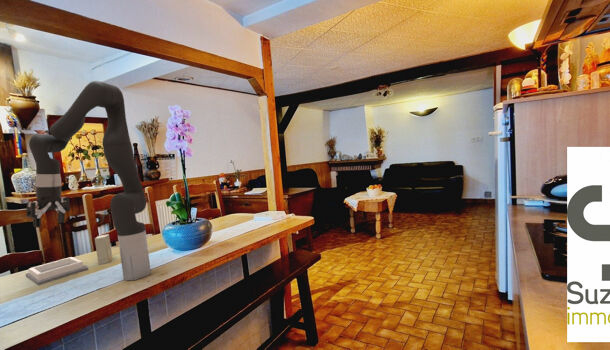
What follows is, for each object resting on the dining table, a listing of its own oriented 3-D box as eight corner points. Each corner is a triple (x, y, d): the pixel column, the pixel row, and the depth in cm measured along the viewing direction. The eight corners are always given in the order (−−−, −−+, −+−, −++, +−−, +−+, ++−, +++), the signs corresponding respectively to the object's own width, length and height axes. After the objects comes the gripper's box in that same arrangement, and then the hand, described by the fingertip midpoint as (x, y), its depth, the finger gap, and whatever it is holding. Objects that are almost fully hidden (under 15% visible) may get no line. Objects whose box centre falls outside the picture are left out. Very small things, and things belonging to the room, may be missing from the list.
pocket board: (88, 269, 120) (86, 261, 120) (38, 285, 107) (36, 276, 107) (72, 262, 132) (71, 255, 132) (25, 276, 119) (24, 268, 118)
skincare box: (109, 262, 127) (106, 236, 126) (97, 264, 125) (94, 238, 125) (112, 258, 133) (109, 233, 132) (101, 260, 131) (98, 235, 130)
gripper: (36, 187, 103) (37, 230, 104) (74, 183, 117) (75, 221, 118) (20, 186, 104) (21, 228, 106) (59, 182, 118) (60, 219, 119)
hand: (49, 224), depth 112 cm, fingers open, 8 cm apart
